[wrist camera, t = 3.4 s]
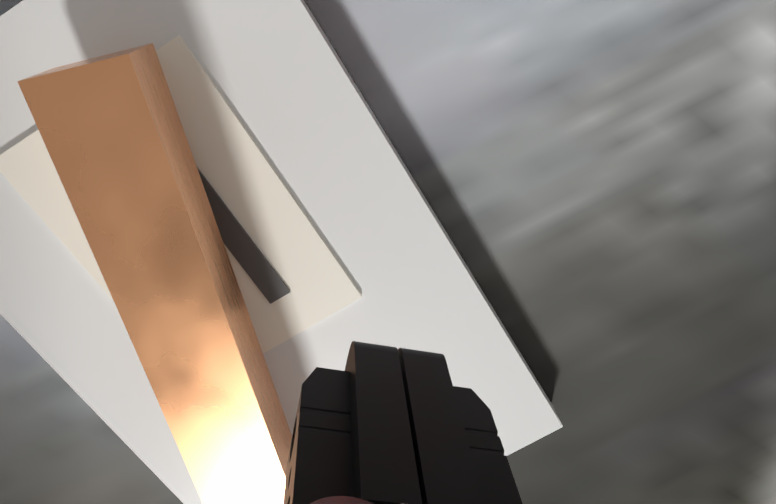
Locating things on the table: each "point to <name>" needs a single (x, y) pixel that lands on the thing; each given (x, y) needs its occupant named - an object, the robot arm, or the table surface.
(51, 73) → the bar
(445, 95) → the table surface
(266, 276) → the label panel
